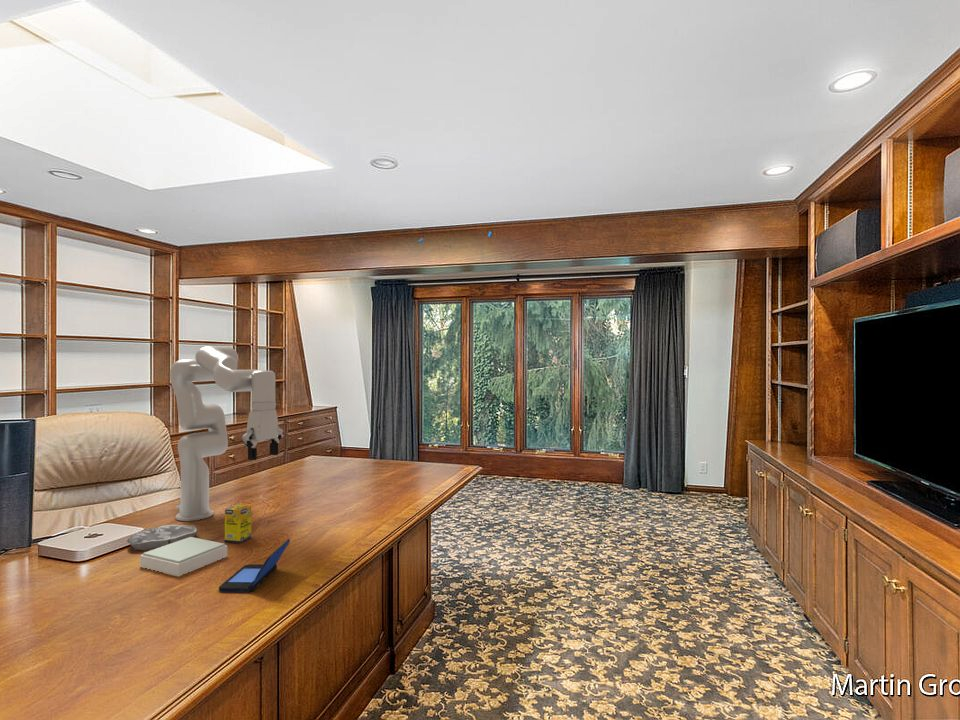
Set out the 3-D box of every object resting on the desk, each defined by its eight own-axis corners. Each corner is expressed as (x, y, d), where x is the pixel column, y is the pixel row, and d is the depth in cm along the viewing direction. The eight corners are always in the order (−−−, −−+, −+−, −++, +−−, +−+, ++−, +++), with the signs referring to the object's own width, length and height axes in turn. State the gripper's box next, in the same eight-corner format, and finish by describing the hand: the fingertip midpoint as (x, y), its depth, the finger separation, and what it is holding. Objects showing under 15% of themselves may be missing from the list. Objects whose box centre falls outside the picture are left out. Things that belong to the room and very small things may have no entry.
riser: (140, 567, 149) (140, 553, 149) (190, 548, 164) (190, 536, 164) (178, 576, 143) (178, 562, 143) (227, 556, 157) (227, 543, 157)
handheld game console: (245, 569, 149) (245, 536, 149) (291, 569, 149) (291, 537, 149) (216, 593, 133) (216, 557, 133) (267, 594, 133) (267, 558, 133)
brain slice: (187, 529, 184) (187, 520, 184) (202, 541, 171) (202, 532, 171) (120, 542, 170) (120, 533, 170) (132, 556, 158) (132, 547, 158)
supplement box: (240, 543, 169) (240, 510, 169) (224, 542, 170) (224, 509, 170) (251, 537, 174) (251, 505, 174) (236, 536, 176) (236, 504, 176)
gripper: (273, 404, 185) (273, 452, 185) (234, 408, 169) (234, 461, 169) (290, 405, 182) (290, 453, 182) (252, 409, 166) (252, 462, 166)
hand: (263, 457), depth 176 cm, fingers open, 9 cm apart
